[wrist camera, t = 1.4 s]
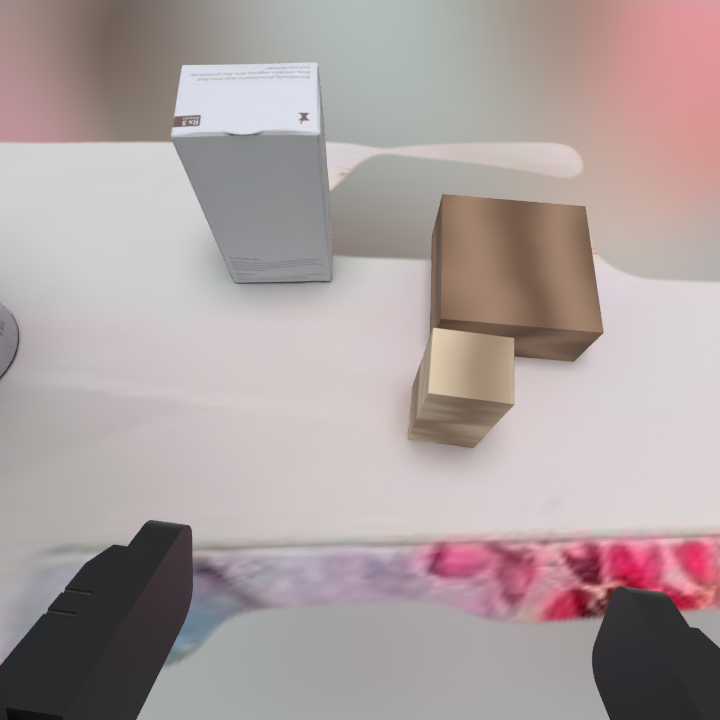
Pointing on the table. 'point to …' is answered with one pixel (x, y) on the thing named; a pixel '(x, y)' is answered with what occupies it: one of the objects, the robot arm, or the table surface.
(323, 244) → the skincare box
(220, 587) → the table surface
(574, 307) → the walnut block
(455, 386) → the oak post
